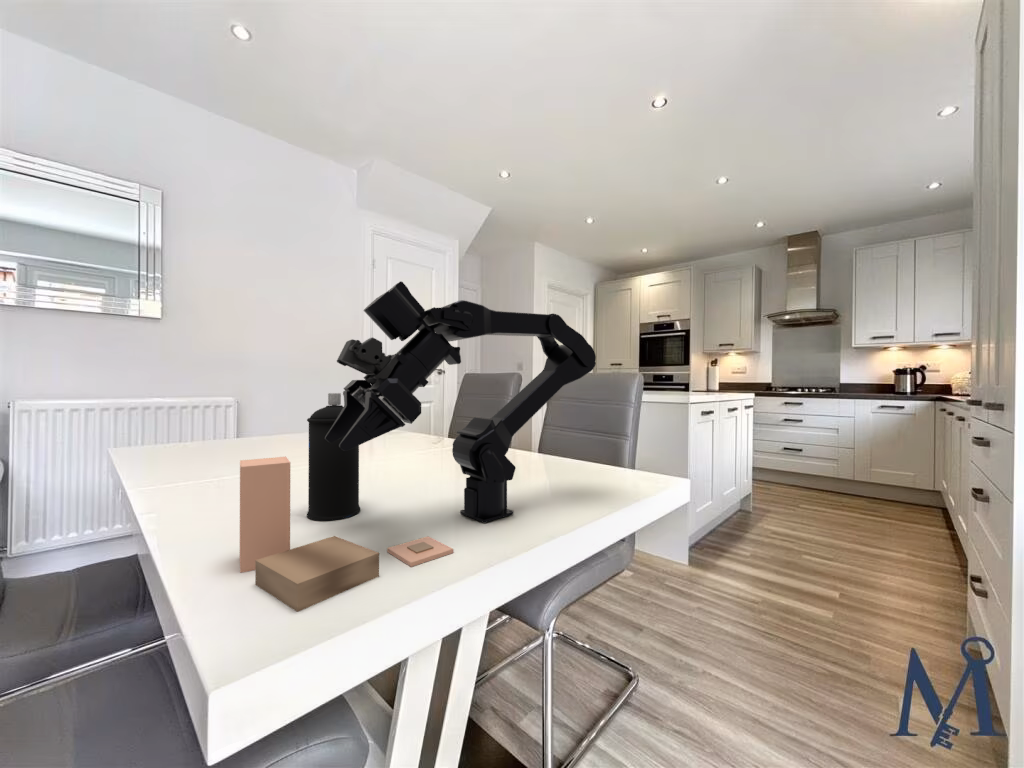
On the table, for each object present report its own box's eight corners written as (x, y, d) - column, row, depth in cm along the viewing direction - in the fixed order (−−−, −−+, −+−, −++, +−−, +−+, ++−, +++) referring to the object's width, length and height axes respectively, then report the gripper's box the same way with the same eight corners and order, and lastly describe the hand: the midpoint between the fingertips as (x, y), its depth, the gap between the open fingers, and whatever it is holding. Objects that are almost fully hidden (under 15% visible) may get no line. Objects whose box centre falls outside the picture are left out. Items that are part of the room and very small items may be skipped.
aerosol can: (371, 510, 70) (371, 392, 70) (327, 524, 63) (328, 393, 63) (339, 503, 74) (339, 392, 74) (295, 516, 67) (296, 393, 67)
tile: (428, 539, 57) (428, 534, 57) (453, 552, 52) (453, 547, 52) (387, 551, 53) (387, 546, 53) (411, 566, 48) (411, 560, 48)
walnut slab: (334, 560, 51) (334, 535, 51) (379, 579, 46) (379, 552, 46) (255, 588, 44) (255, 560, 44) (297, 616, 39) (297, 583, 39)
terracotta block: (285, 548, 54) (285, 456, 54) (290, 562, 50) (290, 462, 50) (239, 557, 51) (239, 460, 51) (240, 572, 47) (240, 466, 47)
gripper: (358, 329, 65) (278, 400, 59) (397, 312, 50) (294, 405, 44) (406, 379, 70) (336, 450, 64) (455, 377, 54) (370, 471, 48)
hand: (334, 444), depth 55 cm, fingers open, 9 cm apart
